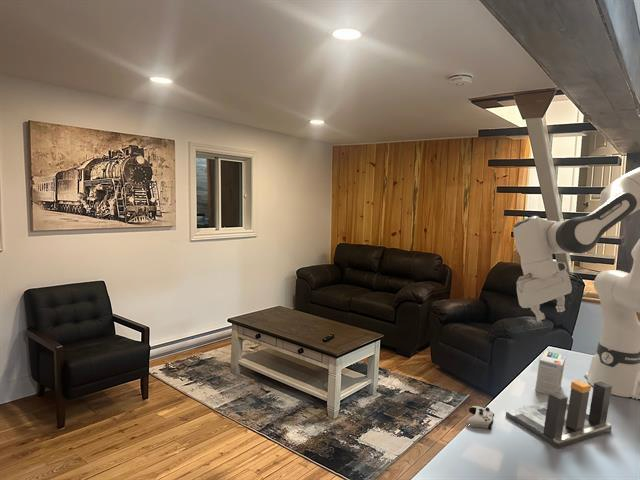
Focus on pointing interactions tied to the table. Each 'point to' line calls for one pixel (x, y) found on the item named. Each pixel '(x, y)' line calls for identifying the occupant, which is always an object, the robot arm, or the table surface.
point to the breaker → (577, 405)
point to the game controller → (480, 417)
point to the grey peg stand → (552, 418)
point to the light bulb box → (550, 372)
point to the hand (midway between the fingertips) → (551, 315)
